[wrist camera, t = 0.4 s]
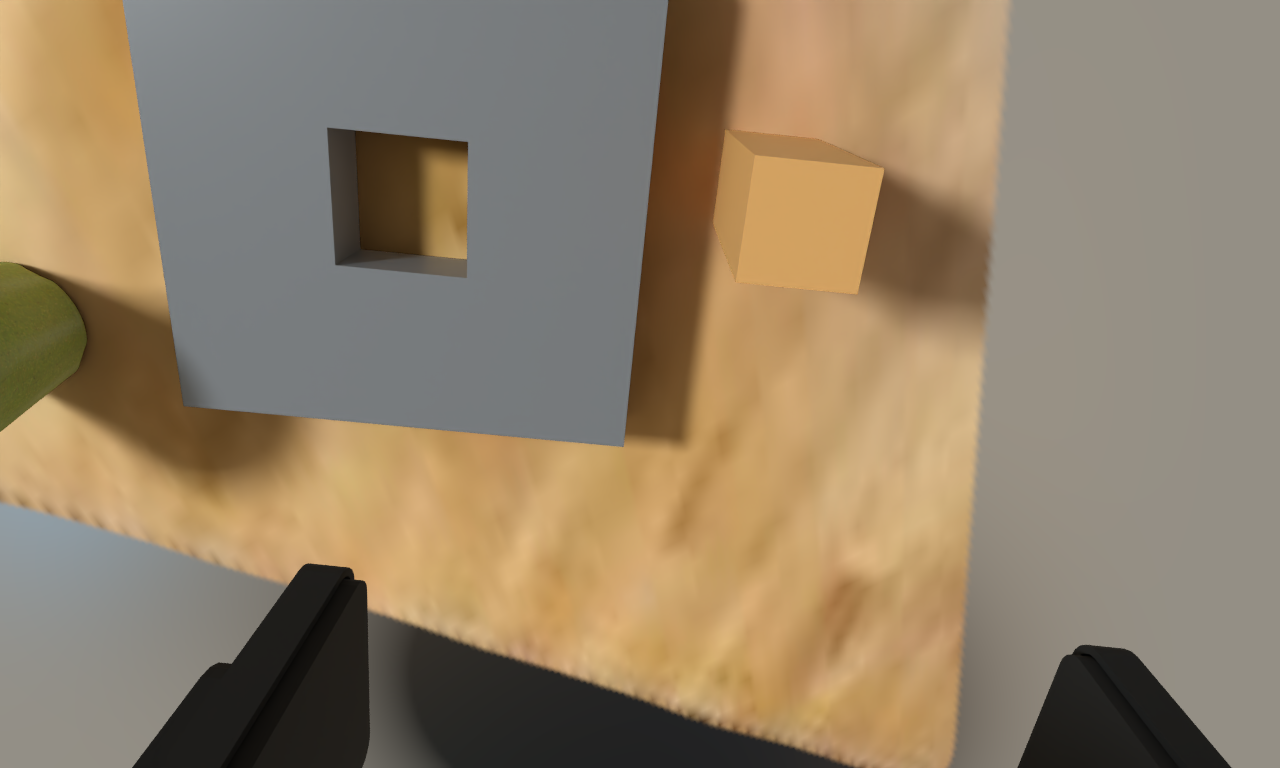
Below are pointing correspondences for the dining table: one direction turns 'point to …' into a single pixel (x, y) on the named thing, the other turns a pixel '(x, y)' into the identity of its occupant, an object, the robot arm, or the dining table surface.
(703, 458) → the dining table surface
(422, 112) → the socket plate
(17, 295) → the plant pot
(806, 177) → the plug
